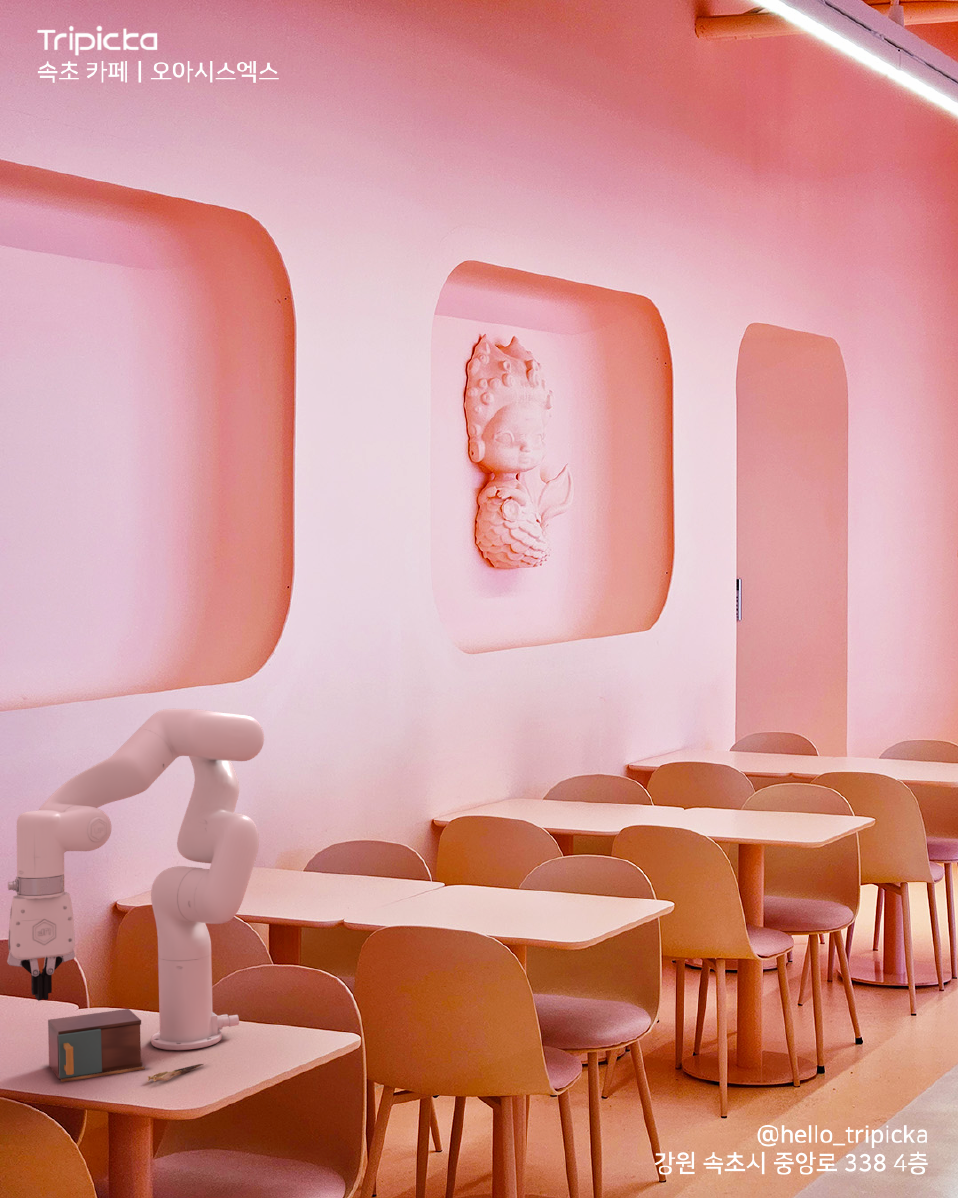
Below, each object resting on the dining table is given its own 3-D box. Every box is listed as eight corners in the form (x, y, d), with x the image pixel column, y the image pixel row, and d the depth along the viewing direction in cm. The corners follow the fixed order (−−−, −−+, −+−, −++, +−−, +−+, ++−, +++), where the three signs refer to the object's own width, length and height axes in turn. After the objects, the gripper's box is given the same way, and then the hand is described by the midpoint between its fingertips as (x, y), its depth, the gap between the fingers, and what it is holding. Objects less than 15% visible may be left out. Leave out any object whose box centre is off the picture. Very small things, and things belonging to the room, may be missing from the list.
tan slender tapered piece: (200, 1066, 263) (200, 1057, 263) (211, 1068, 261) (211, 1060, 261) (145, 1083, 253) (145, 1075, 253) (156, 1086, 252) (155, 1077, 252)
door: (101, 1071, 259) (100, 1028, 259) (106, 1077, 255) (105, 1034, 256) (59, 1078, 256) (58, 1034, 256) (64, 1084, 252) (63, 1040, 252)
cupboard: (129, 1054, 271) (128, 1008, 271) (144, 1069, 261) (143, 1022, 261) (49, 1066, 265) (48, 1019, 265) (61, 1082, 255) (60, 1034, 255)
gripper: (-3, 893, 245) (-2, 1009, 245) (91, 885, 252) (92, 998, 251) (-10, 887, 252) (-10, 999, 251) (81, 879, 259) (82, 989, 258)
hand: (41, 998), depth 251 cm, fingers closed
